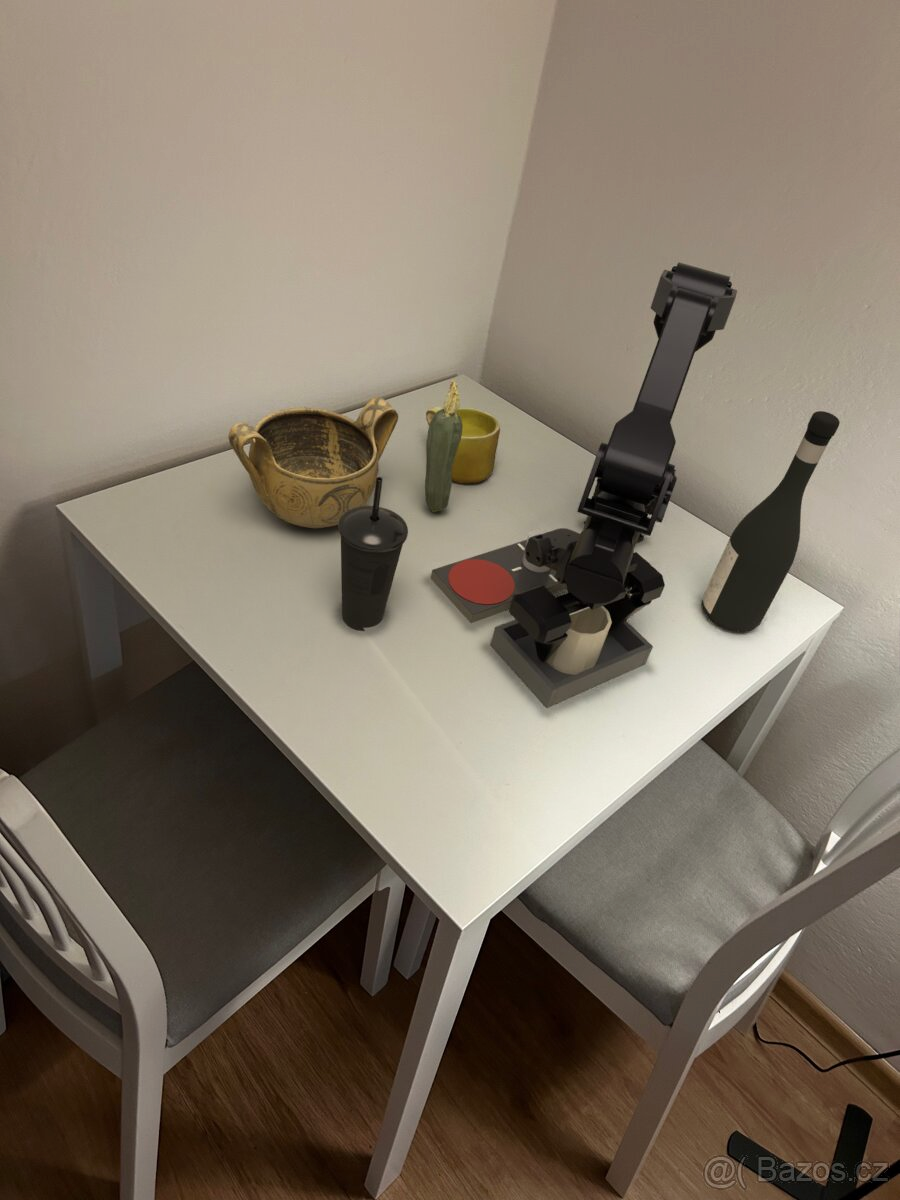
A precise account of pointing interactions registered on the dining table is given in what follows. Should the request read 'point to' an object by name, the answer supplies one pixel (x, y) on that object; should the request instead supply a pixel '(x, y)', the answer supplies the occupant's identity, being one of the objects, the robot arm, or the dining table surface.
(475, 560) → the burner
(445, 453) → the vegetable
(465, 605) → the hob
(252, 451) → the ceramic bowl
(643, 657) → the sink
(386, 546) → the drinking cup
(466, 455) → the mug
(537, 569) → the knob
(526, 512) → the dining table surface
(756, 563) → the wine bottle
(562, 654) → the pot
